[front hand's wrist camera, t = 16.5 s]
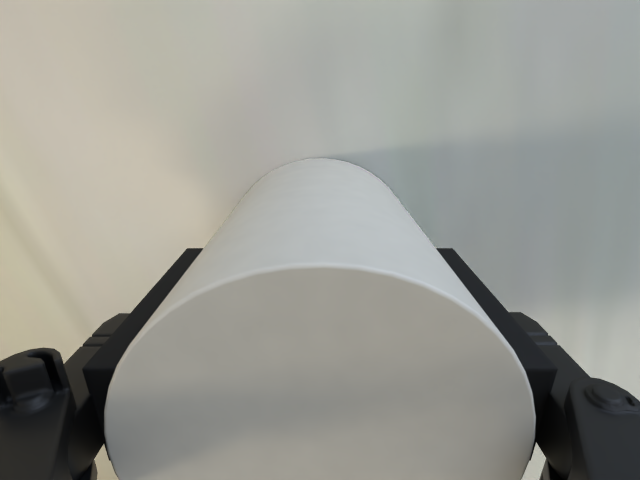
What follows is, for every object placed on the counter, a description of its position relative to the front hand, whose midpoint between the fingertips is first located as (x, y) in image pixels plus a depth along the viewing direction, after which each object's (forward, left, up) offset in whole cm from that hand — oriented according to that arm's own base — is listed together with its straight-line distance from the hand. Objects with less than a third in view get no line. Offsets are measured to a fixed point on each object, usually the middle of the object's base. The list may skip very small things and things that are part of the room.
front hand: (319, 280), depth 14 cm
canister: (0, 0, -3) cm, 3 cm away
